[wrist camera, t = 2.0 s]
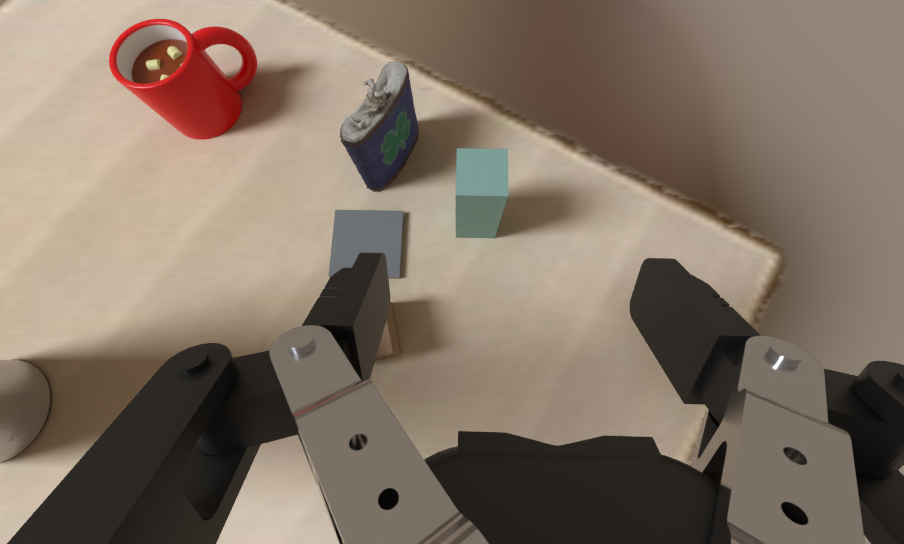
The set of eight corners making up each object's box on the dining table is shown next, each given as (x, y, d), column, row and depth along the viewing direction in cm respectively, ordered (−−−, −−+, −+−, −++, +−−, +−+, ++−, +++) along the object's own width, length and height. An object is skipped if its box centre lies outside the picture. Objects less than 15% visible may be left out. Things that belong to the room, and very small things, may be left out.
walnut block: (350, 365, 35) (333, 367, 30) (341, 314, 36) (323, 308, 31) (401, 353, 35) (392, 352, 30) (391, 302, 36) (381, 294, 31)
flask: (404, 119, 41) (386, 37, 30) (426, 130, 40) (416, 51, 30) (360, 186, 39) (325, 123, 29) (383, 198, 39) (356, 139, 28)
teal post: (455, 237, 37) (455, 195, 28) (456, 201, 38) (456, 148, 29) (494, 238, 37) (508, 196, 28) (494, 202, 38) (507, 149, 29)
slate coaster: (332, 278, 37) (328, 276, 36) (338, 214, 39) (335, 209, 38) (401, 279, 37) (399, 277, 36) (404, 215, 39) (402, 210, 38)
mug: (286, 95, 42) (247, 36, 34) (192, 152, 40) (129, 103, 32) (252, 50, 43) (208, -17, 36) (160, 102, 42) (94, 45, 34)
